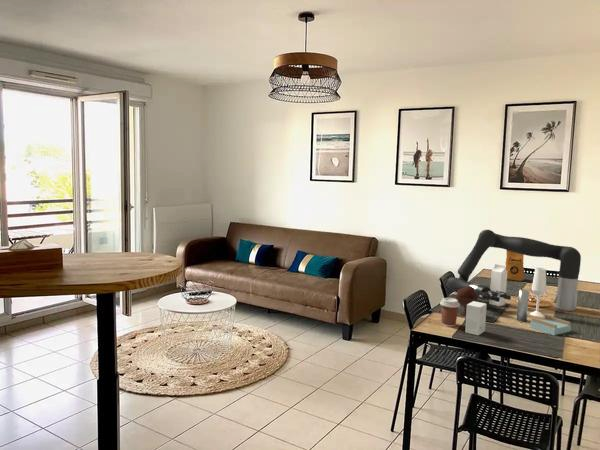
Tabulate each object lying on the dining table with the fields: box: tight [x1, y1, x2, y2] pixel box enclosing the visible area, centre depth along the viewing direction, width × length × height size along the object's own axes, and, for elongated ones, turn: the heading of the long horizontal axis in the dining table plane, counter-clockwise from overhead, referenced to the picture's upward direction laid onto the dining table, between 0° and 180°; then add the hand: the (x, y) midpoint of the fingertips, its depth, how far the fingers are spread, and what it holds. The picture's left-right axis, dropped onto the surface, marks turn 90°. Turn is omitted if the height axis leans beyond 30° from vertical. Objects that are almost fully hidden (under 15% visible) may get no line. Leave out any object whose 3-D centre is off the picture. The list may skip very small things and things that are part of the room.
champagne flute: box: [529, 267, 547, 317], centre depth 247 cm, size 7×7×24 cm
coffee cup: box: [439, 297, 461, 327], centre depth 229 cm, size 9×9×12 cm
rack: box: [529, 314, 572, 336], centre depth 225 cm, size 12×12×4 cm
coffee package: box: [505, 249, 525, 282], centre depth 327 cm, size 10×12×22 cm
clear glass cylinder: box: [516, 288, 530, 323], centre depth 237 cm, size 4×4×15 cm
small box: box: [464, 301, 487, 336], centre depth 219 cm, size 8×6×13 cm
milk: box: [488, 263, 508, 307], centre depth 265 cm, size 6×6×22 cm
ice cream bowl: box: [455, 286, 479, 317], centre depth 245 cm, size 11×11×15 cm
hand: (504, 298), depth 246 cm, fingers open, 8 cm apart
